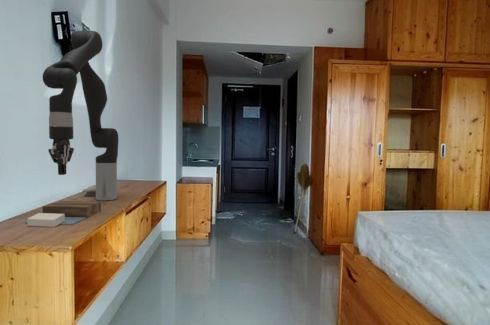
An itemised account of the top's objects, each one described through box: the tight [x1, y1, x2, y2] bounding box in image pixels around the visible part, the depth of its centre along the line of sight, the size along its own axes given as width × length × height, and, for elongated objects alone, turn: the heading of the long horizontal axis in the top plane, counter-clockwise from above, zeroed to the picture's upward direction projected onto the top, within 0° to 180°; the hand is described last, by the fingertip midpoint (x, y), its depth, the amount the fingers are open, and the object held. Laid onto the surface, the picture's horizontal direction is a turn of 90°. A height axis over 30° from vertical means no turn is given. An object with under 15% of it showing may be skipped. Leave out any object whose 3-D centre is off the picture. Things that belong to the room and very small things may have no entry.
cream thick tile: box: [26, 212, 65, 228], centre depth 115 cm, size 6×9×2 cm, turn 87°
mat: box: [24, 217, 87, 226], centre depth 120 cm, size 10×16×1 cm, turn 89°
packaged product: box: [81, 184, 96, 197], centre depth 176 cm, size 18×5×10 cm
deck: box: [42, 200, 102, 219], centre depth 131 cm, size 12×16×4 cm
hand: (62, 174), depth 123 cm, fingers closed
